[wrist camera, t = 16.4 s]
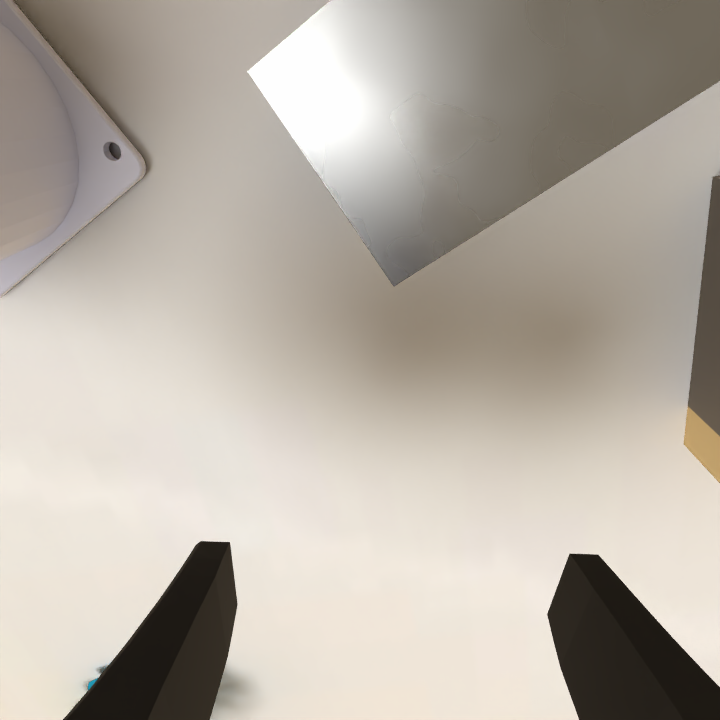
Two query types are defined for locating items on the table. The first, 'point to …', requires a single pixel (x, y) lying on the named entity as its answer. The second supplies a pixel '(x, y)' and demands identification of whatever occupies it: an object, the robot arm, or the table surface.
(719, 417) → the grey rectangular bar
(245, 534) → the table surface
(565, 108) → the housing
